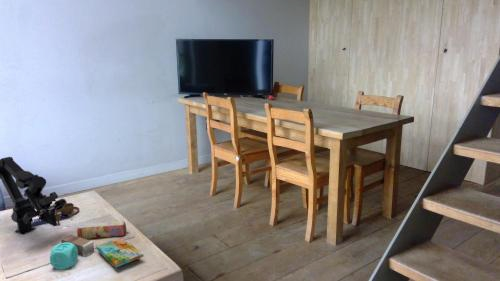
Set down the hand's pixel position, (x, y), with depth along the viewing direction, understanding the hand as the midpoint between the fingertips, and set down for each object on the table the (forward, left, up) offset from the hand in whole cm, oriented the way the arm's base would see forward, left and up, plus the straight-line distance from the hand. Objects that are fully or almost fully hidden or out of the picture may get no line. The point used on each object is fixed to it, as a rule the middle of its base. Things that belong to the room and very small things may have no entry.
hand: (56, 225), depth 177 cm
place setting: (-25, +21, -10) cm, 34 cm away
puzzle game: (+34, +4, -10) cm, 35 cm away
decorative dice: (+17, -10, -9) cm, 22 cm away
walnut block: (+6, 0, -7) cm, 9 cm away
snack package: (+12, +15, -10) cm, 21 cm away
